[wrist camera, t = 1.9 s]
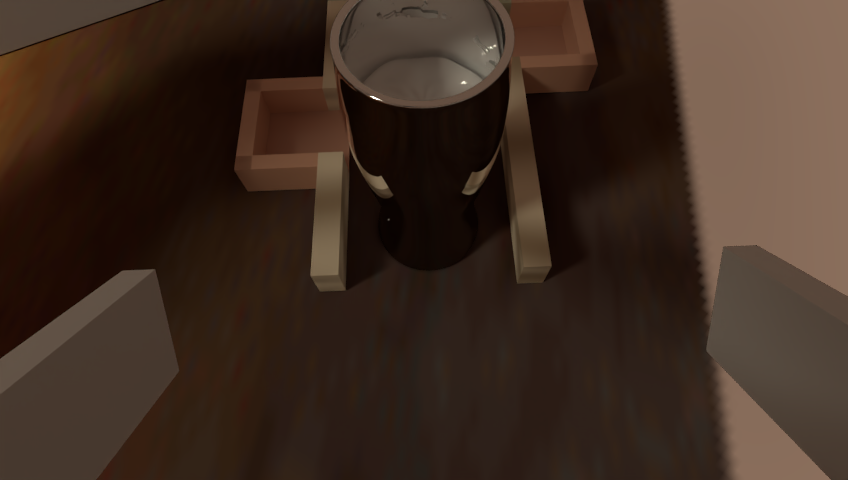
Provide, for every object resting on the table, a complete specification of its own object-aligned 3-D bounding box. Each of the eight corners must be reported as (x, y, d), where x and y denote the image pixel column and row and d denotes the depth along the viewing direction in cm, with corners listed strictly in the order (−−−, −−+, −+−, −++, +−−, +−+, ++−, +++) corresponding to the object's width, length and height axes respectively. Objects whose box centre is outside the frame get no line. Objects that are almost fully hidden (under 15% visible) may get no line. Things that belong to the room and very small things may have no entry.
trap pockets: (606, 176, 33) (619, 153, 31) (247, 191, 33) (233, 170, 31) (571, 18, 39) (580, -11, 37) (268, 31, 39) (257, 4, 37)
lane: (542, 282, 30) (555, 258, 27) (320, 291, 30) (306, 268, 27) (493, -65, 43) (498, -109, 40) (338, -58, 43) (331, -101, 40)
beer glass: (425, 158, 34) (418, -59, 20) (508, 222, 32) (561, 28, 18) (348, 228, 32) (282, 38, 18) (430, 302, 30) (425, 149, 16)
